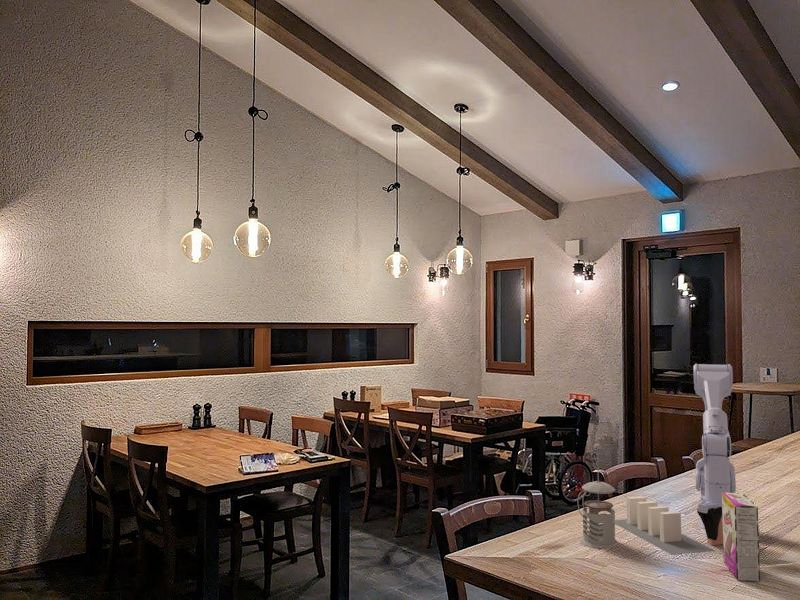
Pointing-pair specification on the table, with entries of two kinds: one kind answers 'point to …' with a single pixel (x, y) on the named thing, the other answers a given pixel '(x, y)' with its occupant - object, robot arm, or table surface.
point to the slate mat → (671, 547)
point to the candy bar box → (741, 536)
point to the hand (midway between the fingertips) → (718, 536)
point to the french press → (598, 516)
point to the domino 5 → (720, 535)
